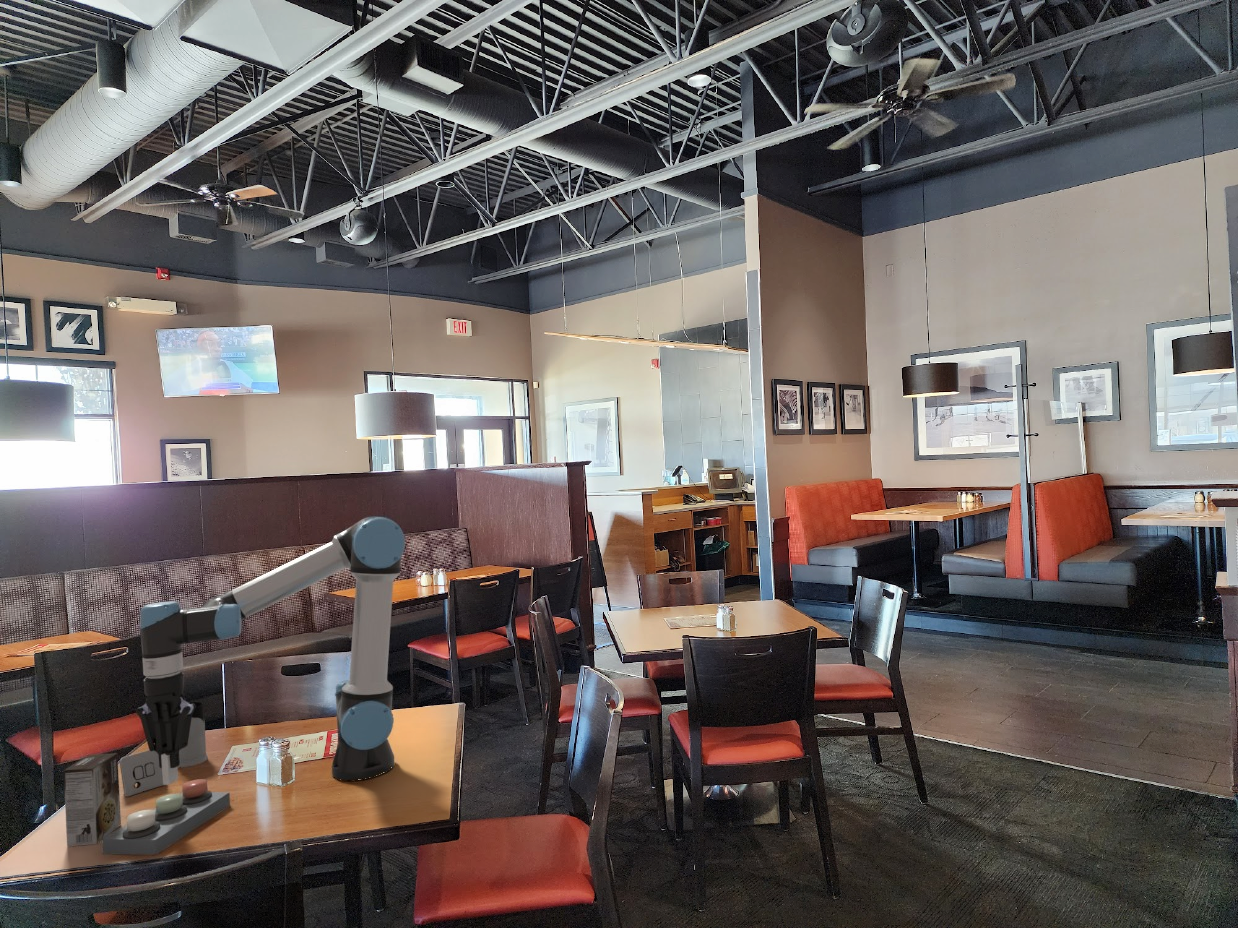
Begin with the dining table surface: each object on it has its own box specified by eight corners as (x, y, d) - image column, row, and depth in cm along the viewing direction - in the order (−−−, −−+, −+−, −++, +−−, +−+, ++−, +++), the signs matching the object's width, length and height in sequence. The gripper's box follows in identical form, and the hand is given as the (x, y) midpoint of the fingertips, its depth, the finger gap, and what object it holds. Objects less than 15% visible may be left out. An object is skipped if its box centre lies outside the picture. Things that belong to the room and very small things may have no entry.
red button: (212, 788, 176) (212, 778, 176) (197, 797, 171) (197, 787, 171) (192, 788, 177) (192, 778, 177) (177, 797, 172) (176, 787, 172)
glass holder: (174, 770, 201) (171, 713, 202) (165, 756, 212) (163, 702, 213) (211, 760, 207) (208, 705, 207) (200, 748, 218) (198, 695, 218)
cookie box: (91, 827, 169) (88, 753, 169) (122, 824, 169) (119, 751, 169) (65, 847, 160) (61, 769, 160) (97, 844, 160) (94, 767, 160)
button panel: (230, 805, 177) (229, 789, 177) (155, 854, 154) (154, 837, 154) (183, 804, 178) (182, 789, 178) (102, 853, 156) (102, 836, 156)
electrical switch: (125, 798, 184) (122, 758, 185) (118, 795, 187) (115, 756, 188) (168, 784, 192) (165, 747, 192) (159, 782, 195) (157, 745, 195)
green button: (188, 803, 168) (187, 793, 168) (171, 813, 163) (171, 803, 163) (167, 803, 169) (167, 793, 169) (150, 813, 164) (150, 803, 164)
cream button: (161, 820, 160) (160, 809, 160) (142, 831, 155) (142, 820, 155) (139, 819, 161) (139, 809, 161) (121, 830, 156) (120, 819, 156)
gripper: (123, 679, 164) (130, 789, 164) (178, 677, 162) (185, 789, 162) (149, 670, 171) (156, 775, 171) (202, 668, 169) (209, 774, 169)
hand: (170, 781), depth 166 cm, fingers closed
